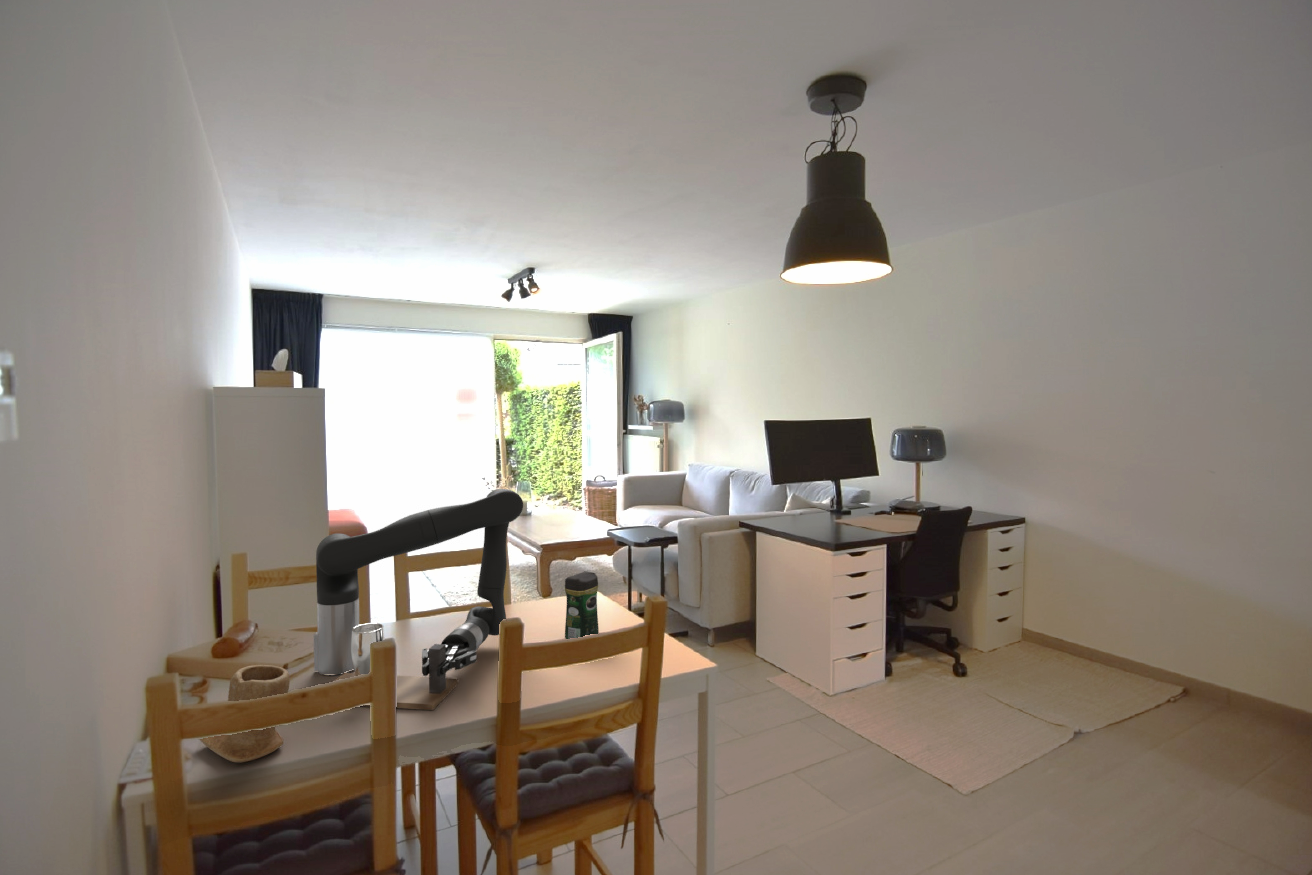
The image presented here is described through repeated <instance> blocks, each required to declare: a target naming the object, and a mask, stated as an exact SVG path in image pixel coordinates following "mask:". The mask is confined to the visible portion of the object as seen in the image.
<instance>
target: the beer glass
mask: <svg viewBox="0 0 1312 875" xmlns="http://www.w3.org/2000/svg"><path fill="white" fill-rule="evenodd" d="M384 629H385V628H384V625H383V624H382V623H378V622H367V623H363V624H359V625H358V626H356V627H354V628H353V629H352V635H351V657H352V663H353V667H354V670H353V673H355V676H358V675H361V674H368V673H369V672H370V644H371V643H373V642H378V641H383V640H385V632H384V631H385V630H384Z"/></svg>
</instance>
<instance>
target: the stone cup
mask: <svg viewBox="0 0 1312 875" xmlns="http://www.w3.org/2000/svg"><path fill="white" fill-rule="evenodd" d="M290 678H291V677H290V673H289V671H288V670H287V669H286V668H284V667H280V666H277V665H270V664H269V665H266V664H255V665H254V664H253V665H247V666H244V667H242V668H239V669H238V670H237V671H236V672H235V673H234V674H233V676H232V677H231V678H230V682H229V687H228V696H227V702H228V701H239V700H250V699H257V698H262V697H267V696H272V695H277V694H284V693H287V694H288V693H289V689H290V680H291V679H290ZM198 740H199V741H200V742H201V743H202V744H203V745H204V746H205V747H207V748H208V749H209V750H211V751H212V752H214V753H215V754H217V755H218V756H220V757H222V758H223V759H225V760H228V761H229V762H233V763H237V764H239V763H247V762H250V761H255V760H257V759H259V758H262V757H265V756H267V755H269V754H271V753H273V752H275V751H276V750H278V749H279V748H281V747H282V746H283V744H284V740H283V737H282V736H281V735H280V733H279V732H278V731H277V730H276V726H275V727H271V728H266V729H263V730H251V731H248V732H242V733H237V734H232V735H221V736H214V737H208V738H203V739H199V738H198Z"/></svg>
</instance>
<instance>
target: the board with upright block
mask: <svg viewBox="0 0 1312 875" xmlns="http://www.w3.org/2000/svg"><path fill="white" fill-rule="evenodd" d="M428 650H429V674H428V677H427V676H415V675H414V676H412V675H411V676H410V675H396V676H397V708H396V709H412V710H426V711H427V710H428V711H434V709H435V708H436V707H438V706H439V704H440V703H441V702H442V701H444V699H445V698H446V697H447V696H448V695H449V694H451V692H452V691H453V690H454V689H455V688H456V687H457V686H458V685H459V678H451V677H450V678H449V677H448V678H447V672H446V673H445V674H443V675H442V676H441V677H440V676H437V667H438V666H439V665H440V664H441V663H442V662H443V661H446V644H441V643H434V644H433V645H431V647H430V648H428ZM354 676H355V672H348V673H344V674H340V675H339V677H337V678H336V679H334V680H333V681H335V680H339V679H345V678H350V677H354ZM364 707H371V706H370V705H365V706H364Z"/></svg>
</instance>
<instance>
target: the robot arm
mask: <svg viewBox="0 0 1312 875" xmlns="http://www.w3.org/2000/svg"><path fill="white" fill-rule="evenodd" d="M523 509H524V500H523V499H522V497H521V496H520V494H518V493H517V492H516V491H514V490H512V489H508V488H507V489H506V488H496V489H494V490H492V491H490V492H489V493H488V494H487V495H486V497H484V498H480V499H478V500H476V501H473V502H468V503H464V504H456V505H454V504H453V505H447V506H441V507H435V508H430V509H427V510H423V511H419V512H416V513H413V514H409V515H407V516H405V517H403V518H400V519H398V520H396V521H394V522H391V523H390V524H388V525H386V526H384V527H382V528H379V529H377V530H375V531H371V532H367V533H364V534H358V535H355V536H350V535H348V534H345V533H339V532H338V533H332V534H329V535H328V536H326V537H324V538H323V539H322V540H321V541H320V542H319V544H318V545H317V548H316V551H315V553H316V555H315V557H316V558H315V562H316V565H315V566H316V567H315V568H316V570H315V571H316V603H317V604H316V605H317V606H316V610H317V612H316V613H317V619H316V620H317V631H316V632H314V634H313V672H314V671H318V672H319V673H318V672H317V673H318V674H320V673H321V674H320V675H322V674H340V675H342V674H341V673H344V672H346V671H349V670H352V669H354V667H353V663H352V657H351V635H352V629H353V628H354V627H356V626H358V625H360V587H359V570H358V569H361V568H364V567H366V566H368V565H371V564H373V563H375V562H378V561H380V560H381V561H382V560H383V559H387V558H388V559H389V558H392V557H396V556H399V555H403V554H407V553H411V552H413V551H418V550H422V549H425V548H429V547H431V546H435V545H438V544H441V543H443V542H446V541H449V540H452V539H455V538H457V537H460V536H463V535H465V534H468V533H471V532H473V531H475V530H478V529H479V530H480V529H483V528H484V533H483V534H484V536H483V538H484V539H483V547H482V548H483V549H482V556H481V563H480V571H479V578H478V583H477V584H478V585H477V590H476V591H477V593H476V594H477V596H478V597H479V598H481V599H483V600H485V601H488V602H489V603H490V604H491V607H487V606H474V607H471V608H470V609H469V611H468V613H467V615H466V619H465V621H464V623H462V624H461V625H459V626H458V627H456V628H455V629H454V630H452V631H451V632H450V633H449V634H448V635H447V636H446V637H444V639H443V640H442V642H441V643H440V644H446V661H443V662H442V663H441V664H440V665H439V666H438V667H437V676H440V677H441V676H442V675H443V674H445V673H446V674H447V673H448V672H449V671H451V670H453V669H454V670H456V671H459V670H461V669H464V668H465V667H468V666H470V665H472V664H474V663H477V650H478V649H479V648H480V646H481V645H482V644H483V643H484V642H485V641H486V640H487V638H488V637H489V636H493V637H494V636H499V635H500V634H499V624H500V622H501V621H502V620H503V619H506V620H507V614H506V606H505V597H504V596H505V595H504V592H505V584H506V576H507V569H508V568H507V565H508V564H507V561H508V560H507V537H508V536H507V535H508V529H509V526H510V523H511V522H513V521H515V520H517V518H519V516H521V515H522V512H523ZM421 664H422V666H421V674H422V675H423V676H422V677H427V676H429V648H425V647H424V648H422V649H421Z"/></svg>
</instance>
